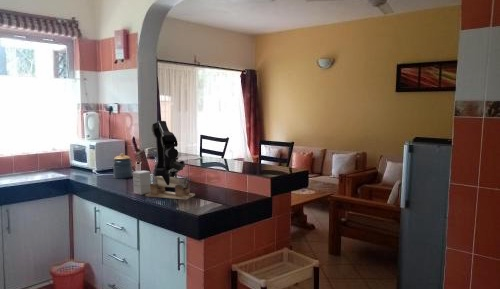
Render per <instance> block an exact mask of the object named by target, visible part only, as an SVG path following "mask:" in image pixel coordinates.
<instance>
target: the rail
mask: <svg viewBox="0 0 500 289" xmlns="http://www.w3.org/2000/svg"><path fill="white" fill-rule="evenodd" d="M187 183H188V177H182V176H181V177H178V176H175V177H170V181H169V185H167V184H166V182H165V180H164V178H163V177H162V176H155V177H152V184H158V186H162V187H167V188H175V186H176V185H183V188H185V187H187Z"/></svg>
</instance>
